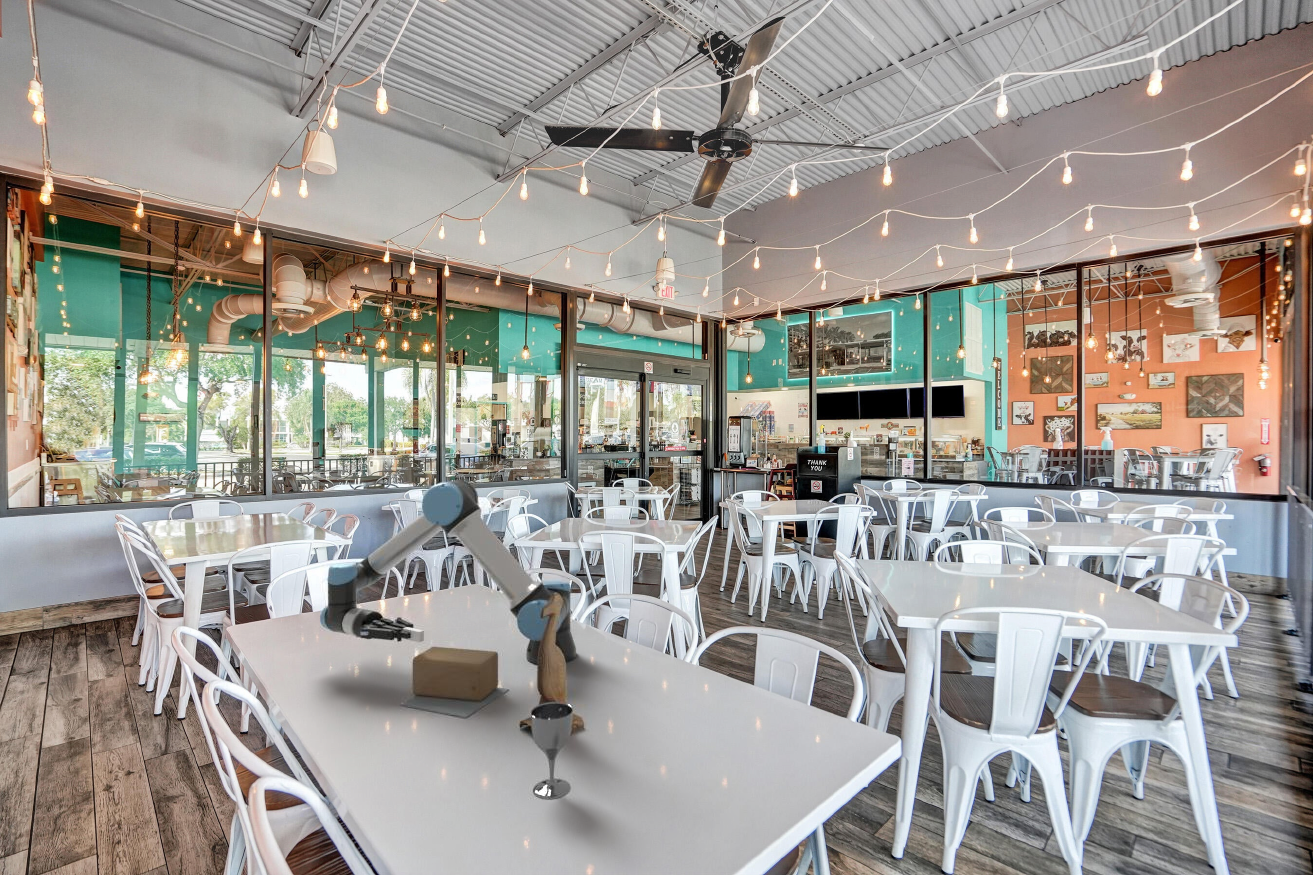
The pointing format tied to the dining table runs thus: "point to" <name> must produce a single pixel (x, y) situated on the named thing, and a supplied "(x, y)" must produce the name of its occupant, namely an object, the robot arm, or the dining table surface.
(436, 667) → the wooden block
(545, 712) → the wine glass
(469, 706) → the mat
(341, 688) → the dining table surface
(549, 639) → the bird sculpture
